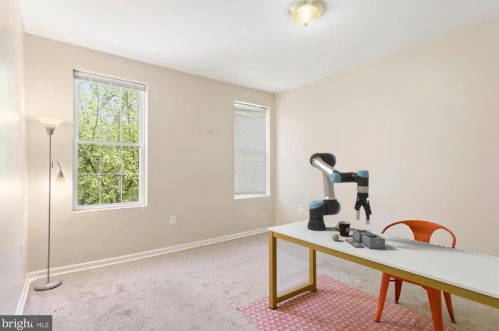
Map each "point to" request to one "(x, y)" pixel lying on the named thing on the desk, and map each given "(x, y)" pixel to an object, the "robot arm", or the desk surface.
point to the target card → (354, 243)
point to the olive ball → (335, 237)
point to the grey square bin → (360, 234)
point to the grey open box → (373, 241)
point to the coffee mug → (343, 228)
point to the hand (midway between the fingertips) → (362, 221)
